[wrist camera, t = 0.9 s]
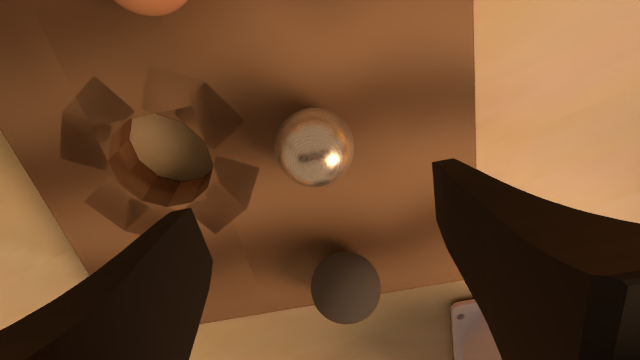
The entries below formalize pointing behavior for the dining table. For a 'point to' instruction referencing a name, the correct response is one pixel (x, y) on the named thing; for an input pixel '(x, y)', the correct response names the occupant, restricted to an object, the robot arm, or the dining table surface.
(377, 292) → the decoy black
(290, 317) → the dining table surface
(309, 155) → the steel ball
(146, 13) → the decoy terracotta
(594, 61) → the dining table surface
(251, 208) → the board
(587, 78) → the dining table surface
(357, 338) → the dining table surface
